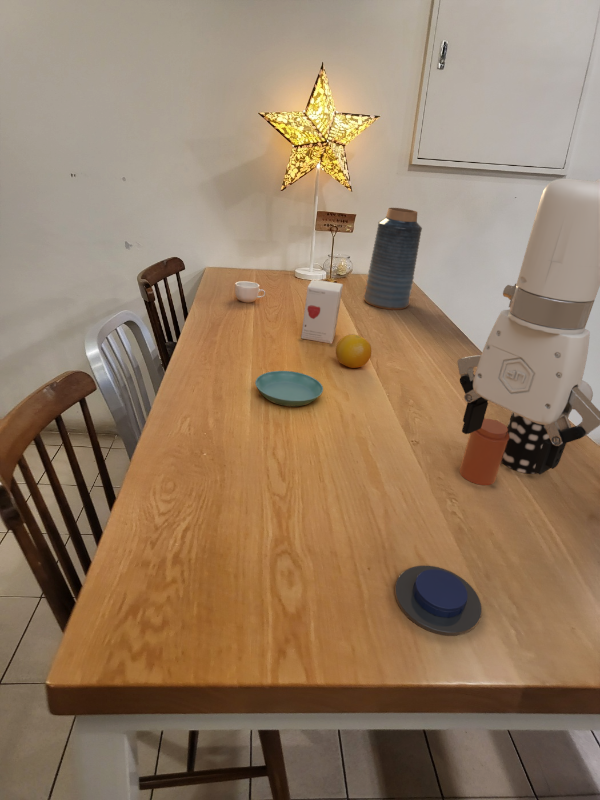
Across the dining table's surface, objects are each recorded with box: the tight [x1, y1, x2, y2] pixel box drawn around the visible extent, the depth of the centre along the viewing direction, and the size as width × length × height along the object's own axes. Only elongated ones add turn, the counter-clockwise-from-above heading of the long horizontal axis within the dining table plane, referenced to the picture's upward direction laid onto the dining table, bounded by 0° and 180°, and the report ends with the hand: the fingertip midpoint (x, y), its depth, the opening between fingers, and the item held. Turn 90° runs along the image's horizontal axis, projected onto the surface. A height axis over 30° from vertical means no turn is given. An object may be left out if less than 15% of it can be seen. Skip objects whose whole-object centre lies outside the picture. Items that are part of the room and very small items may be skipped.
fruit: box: [335, 333, 372, 369], centre depth 135 cm, size 9×8×8 cm
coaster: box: [394, 565, 483, 637], centre depth 69 cm, size 11×11×1 cm
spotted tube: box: [501, 412, 550, 475], centre depth 99 cm, size 8×8×20 cm
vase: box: [363, 207, 423, 311], centre depth 184 cm, size 16×16×32 cm
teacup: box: [234, 280, 266, 304], centre depth 175 cm, size 10×8×5 cm
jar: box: [459, 418, 510, 486], centre depth 95 cm, size 6×6×10 cm
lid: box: [413, 569, 468, 618], centre depth 69 cm, size 6×6×2 cm
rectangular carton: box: [300, 278, 344, 344], centre depth 150 cm, size 9×9×15 cm
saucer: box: [254, 370, 324, 408], centre depth 117 cm, size 15×15×3 cm
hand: (505, 449), depth 63 cm, fingers open, 9 cm apart
